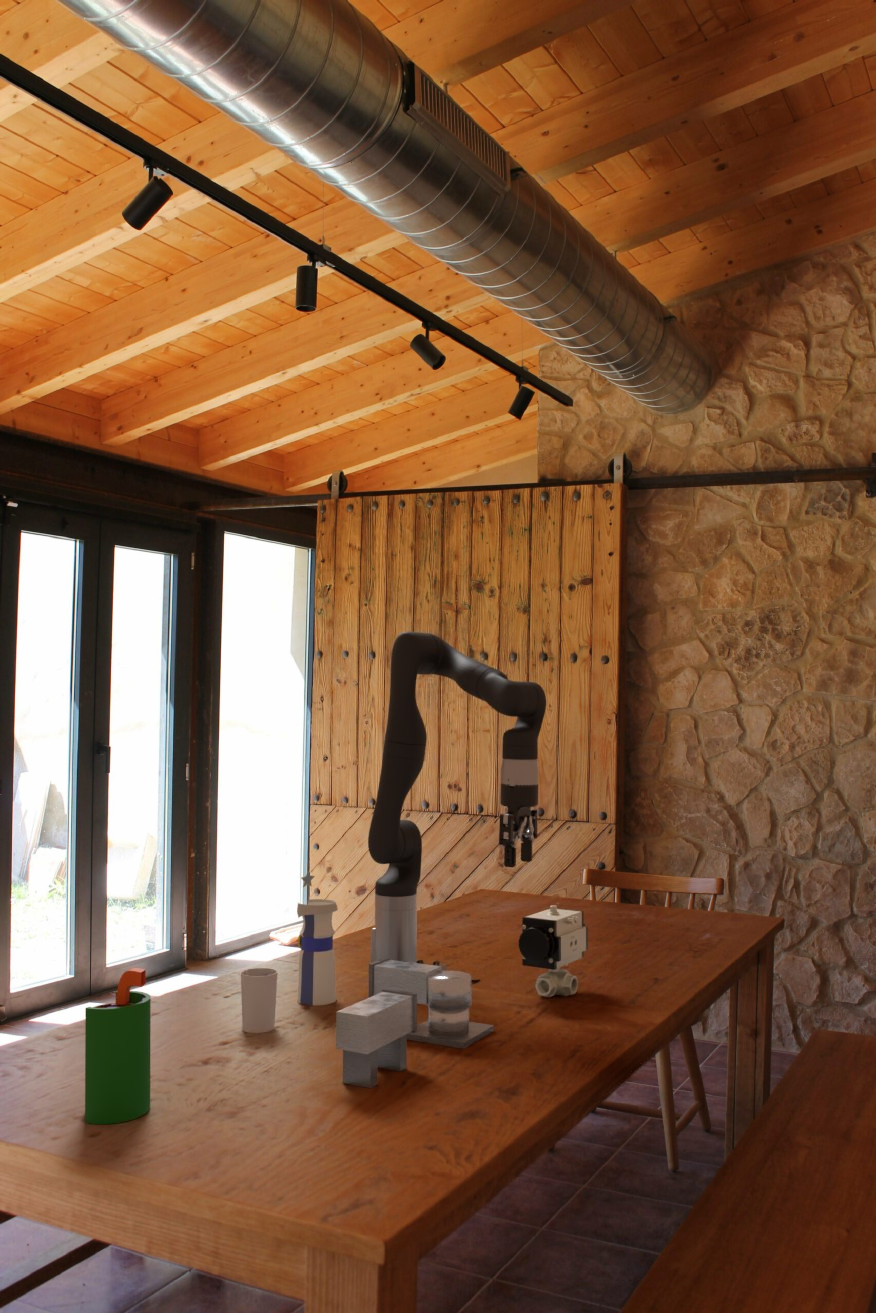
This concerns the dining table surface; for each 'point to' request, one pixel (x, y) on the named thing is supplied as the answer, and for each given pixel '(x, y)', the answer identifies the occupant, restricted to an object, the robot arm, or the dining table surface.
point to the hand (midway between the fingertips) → (518, 864)
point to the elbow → (422, 983)
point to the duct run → (375, 1035)
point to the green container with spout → (118, 1054)
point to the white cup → (258, 999)
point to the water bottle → (316, 951)
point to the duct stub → (450, 1029)
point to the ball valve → (554, 947)
